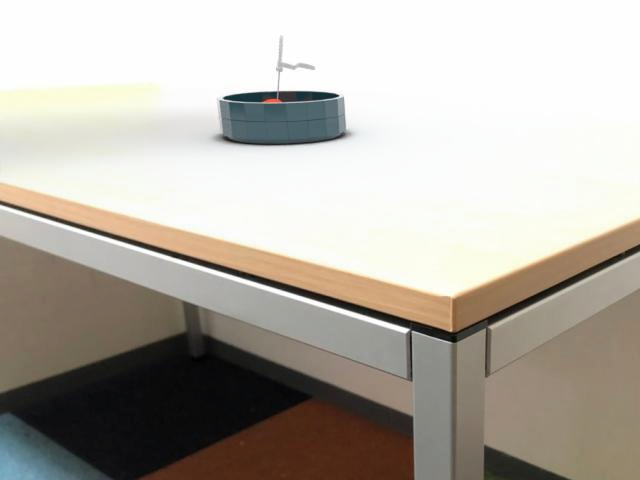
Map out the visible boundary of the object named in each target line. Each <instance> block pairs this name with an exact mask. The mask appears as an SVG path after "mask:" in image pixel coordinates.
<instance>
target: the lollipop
mask: <svg viewBox="0 0 640 480" xmlns="http://www.w3.org/2000/svg"><path fill="white" fill-rule="evenodd" d="M278 42H279V44H278V55H277V57H278V59H277V61H276V63H277V64H276V67H275V70H276V72H278V74H277V75H278V76H277V78H278V79H277V88H276V89H277V90H276V91H277V99H270V100H266V101H264V102H262V103H282V102H281V101H280V100H278V93H279V91H280V78H281V76H280V75H281V73H282V72H283V71H284V68H285V69H289V70H292V71H295V70H296V69H298V68H301V69H306V70H311V71H315V70H316V67H315V66H314V65H312V64H308V63H305V62H297V63H296V64H295V65H294V64H291V63H287V62H284V61H283V47H284V35H283V34H280V37H279V41H278Z"/></svg>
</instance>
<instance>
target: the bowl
mask: <svg viewBox="0 0 640 480" xmlns="http://www.w3.org/2000/svg"><path fill="white" fill-rule="evenodd" d="M270 99H277V90H264V91H263V90H261V91H260V90H259V91H247V92H246V91H245V92H237V93H230V94H224V95H219V96H217V97H216V105H217V113H218V114H217V115H218V123H219V129H220V130H219V131H220V134H222V136H224V137H227V139H229V140H231V141H233V142H238V143H245V144H255V145H257V144H258V145H287V144H288V145H290V144H304V143H305V144H306V143H315V142H322V141H328V140H332V139H335V138H338V137H340V136H341V135H342V133H345V132H347V112H346V110H347V109H346V96H345V94H344V93H340V92H333V91H325V90H324V91H321V90H279V93H278V100H280V101H281V102H282V103H262V102H264V101H266V100H270Z"/></svg>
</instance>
